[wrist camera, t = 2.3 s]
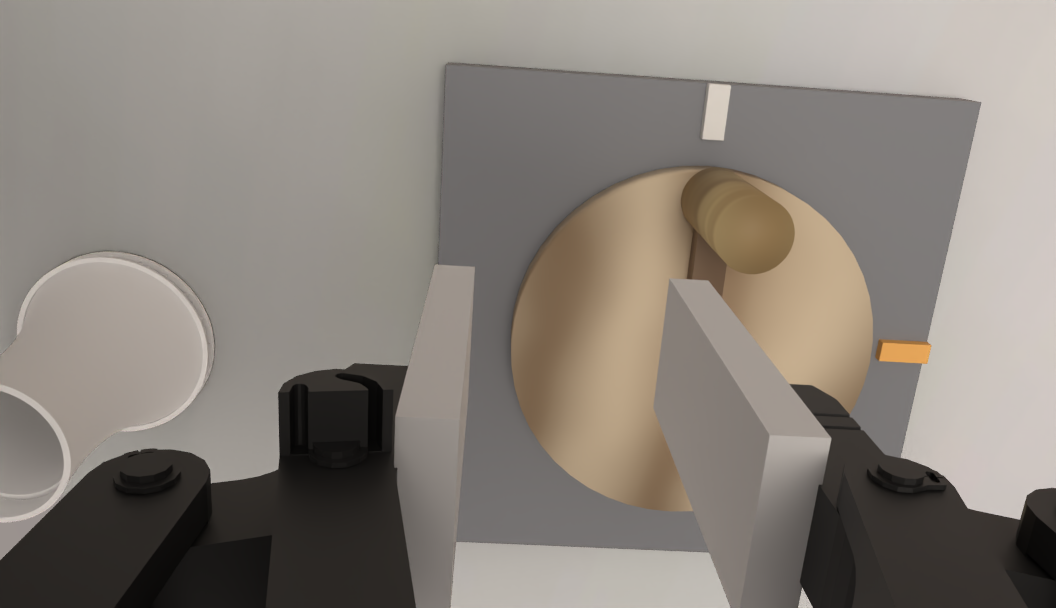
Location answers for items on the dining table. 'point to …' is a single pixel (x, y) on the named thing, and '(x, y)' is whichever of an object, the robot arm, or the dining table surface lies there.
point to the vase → (94, 369)
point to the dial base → (656, 143)
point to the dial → (639, 310)
